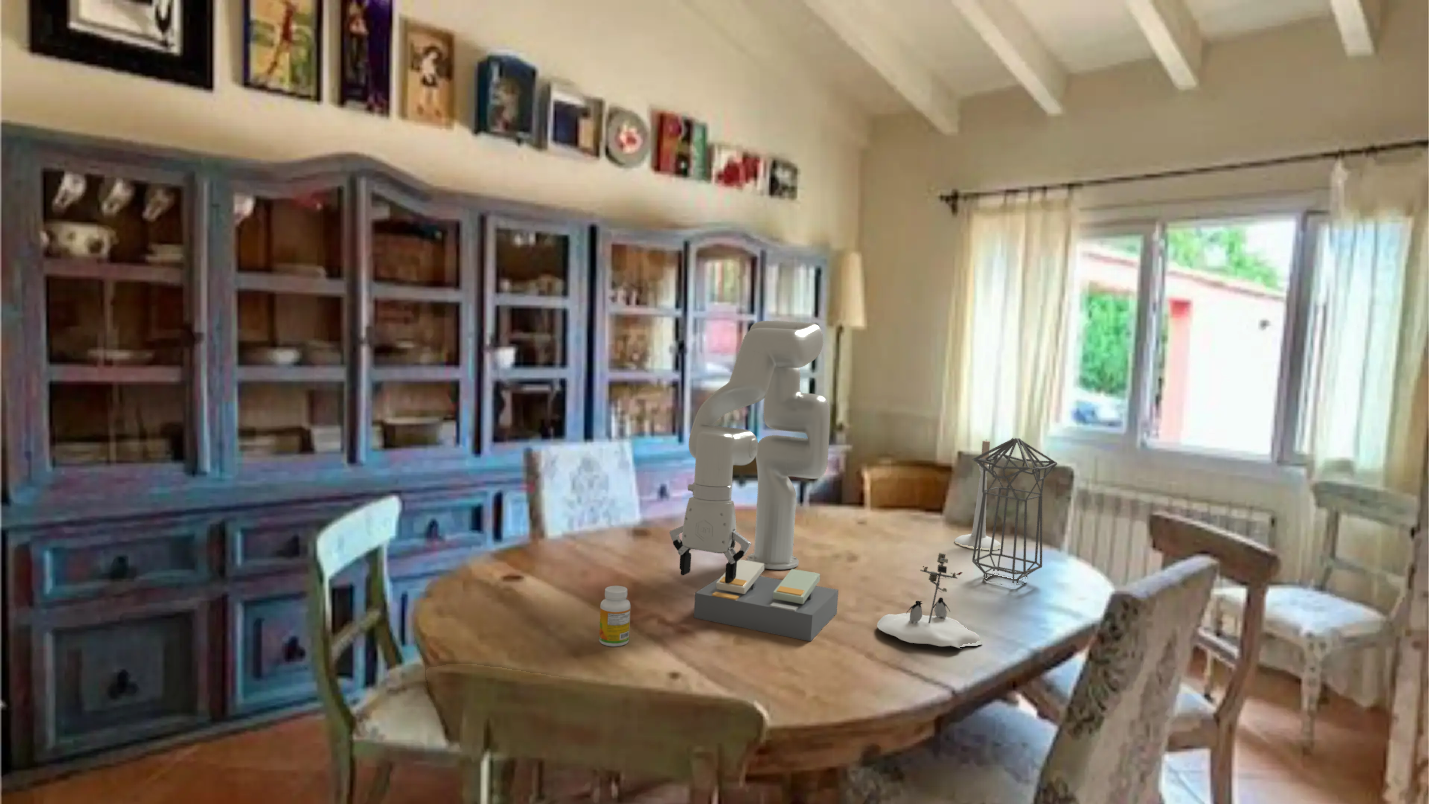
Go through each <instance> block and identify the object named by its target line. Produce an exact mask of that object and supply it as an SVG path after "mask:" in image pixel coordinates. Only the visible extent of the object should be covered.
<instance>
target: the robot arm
mask: <svg viewBox="0 0 1429 804" xmlns="http://www.w3.org/2000/svg"><path fill="white" fill-rule="evenodd" d="M823 334H824V333H823V331H822V329H821V327H820V326H819V325H818V324H816V323H813V322H801V321H799V322H798V321H784V320H762V321H757V322H755V323H753V324H751V326H750V329H749V331H747V332H746V333H745V335H744V337H743V339H742V343H741V346H740V347H739V350H738V354H737V357H736V359H735V363H734V366H733V369H732V372H731V375H730V378H729V381H728V382H727V383H725V384H724V385H723V386H721V387H720V388H719V389H718V390H716V391H715V392H714V393H712V394H711V395H710V396H709V397H708V398H707V399H706V400H704V401H703V403H702V404H701V405H700V406H699V407H698V408H699V409H698V411H697V412H696V415H695V418H694V421H693V424H692V427H691V430H690V434H689V437H688V450H689V454H690V455H691V456H692V457H693V458H694V459H695V465H694V481H693V482H692V484H691V483H689V484H688V485H687V490H688V491H689V492H691V493H692V496H691V497H689V498H688V501H687V504H686V509H685V513H684V519H683V525H681V526H679V527H676V528H674V529H672V530H669V535H670V538H671V540H672V544H673V546H674V548H675V549H676V550H677V553H678V555H679V570H680V576H685V575H687V574H689V573H691V566H692V565H691V564H692V553H691V552H690V551H691V550H695V551H701V552H709V553H714V554H723V555H724V556H725V558H726V559H727V561H728V562H727V563H725V572H724V573H725V582H726V583H728V584H729V583H730V582H732V581H733V580H734V579H735V578H736V570H737V561H739V560H740V559H741V560H742V558H743V557H744V556H746V554H747V552H748V551H749V550H750V548H751V546H752V543H751V541H750V540H748V539H747V538H746V537H744V536H743V535H742V534H740V533H739V532H738V531H737V521H736V520H737V519H736V509H735V508H736V507H735V502H734V500H732V490H733V489H732V488H733V472H734V469H733V468H734V466H746V465H749V464H750V463H752V462H753V461H754V459H755V461H756V470H757V471H756V472H757V497H756V498H757V499H756V513H755V516H756V517H755V529H754V530H755V532H754V546H753V547H754V549H753V551H754V552H753V553H750V554H748V555H747V561H752V562H758V563H764V570H765V569H766V570H767V569H768V570H779V571H782V570H791V569H795V568H796V567H798V566H799V562H800V561H799V559H798V558H797V557H796V556H794V554H793V553H794V546H795V544H794V539H795V537H794V536H795V524H796V523H795V521H796V507H797V505H796V504H797V503H796V502H797V492H796V488H795V486H794V484H793V482H792V481H791V479H790V477H794V478H795V477H796V478H801V479H802V478H804V479H812V480H813V479H815V480H816V479H820V478H822V477H823V476H824V475H825V473H826V472H827V467H828V461H829V447H830V446H829V445H830V443H829V441H830V426H831V424H830V422H831V421H830V420H831V411H830V410H831V409H830V405H829V402H828V400H827V399H826V397H824V396H823V395H821V394H817V393H805V392H804V393H803V392H801V371H800V370H801V369H800V368H803V367H805V366H806V365H808V364H810V363H812V362H813V361H814V360H816V359H817V358H818V356H819V355H820V354H821V352H822V349H823V345H824V335H823ZM762 400H763V419H764V424H765V426H766V427H767V428H769V429H772V430H775V431H781V432H782V431H783V432H791V433H792V432H793V433H800V434H805V435H806V436H807V437H806V438H805V437H799V436H798V437H795V436H789V435H788V436H787V435H777V434H776V435H775V434H773V435H767V436H764V437H762V438H760V440H759V441H758V439H757V436H756V435H755V434H754V433H753V432H752V431H750V430H748V429H745V428H737V427H729V426H721V425H720V426H719V425H715V424H716V423H717V422H718V421H719V419H721V418H722V417H723V416H725V415H726V414H729V413H731V412H734V411H735V410H739V409H741V408H745V407H748V406H751V405H754V404H757V403H759V402H761V401H762ZM680 534H681V537H680ZM736 543H738V544H739V545H740V549H739V550H738V551H736V550H735V547H736Z"/></svg>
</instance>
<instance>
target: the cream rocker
mask: <svg viewBox="0 0 1429 804" xmlns="http://www.w3.org/2000/svg"><path fill="white" fill-rule="evenodd" d="M764 571H765V568H764V563H758V562H752V561H747V560H745V559H742V558H741V559H740V560H739V561H737V570H736V578H735V579H734V580H733V581H732V582H730V583H729V584H728V583H726V582H725V572H724V573H723V575H721V576H722V577H721V576H720V577H721V578H720V577H719V578H720V579H719V580H718V581H717V582H716V587H717V589H720V590H725V591H731V592H736V593H741V594H745V593H746V592H747V590H748V589H749V588H750V587H751V586H752V584H753V583H754V582H755V581H756V579H757V578H758V577H759V576H761V574H762V573H763V572H764Z"/></svg>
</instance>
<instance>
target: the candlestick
mask: <svg viewBox="0 0 1429 804" xmlns="http://www.w3.org/2000/svg"><path fill="white" fill-rule="evenodd" d="M990 446H991V441H990V440H987V439H985V440H982V444H981V454H983V453H985V452H987V451H989V450H990V449H991V448H990ZM988 456H990V453H989V454H987V455H985V456H984V457H982V458H980V459H985V458H987V457H988ZM982 463H983V462H982ZM977 465H978V467H979V469H978V470H979V473H980V476H979V480H978V488H977V494H976V502H975V510H974V517H973V524H972V530H971V532H970V533H969V534H962V535H959V536H957V537H956V538H954V540H955V542H958V543H960V544H962V545H968V546H973V547H974V546H975V540H976V534H977V527H978V521H979V515H980V509H981V503H982V497H983V493H982V487H983V468H982V467H981V466H980V465H979V464H978V463H977ZM985 466H986V467H987V468H988V469H989V464H987V463H985ZM990 467H992V465H990ZM988 473H989V472H988V471H985V488H984V490H987V489H988V488H987V486H988V477H987V474H988ZM986 492H987V491H986ZM987 495H988V494H986V496H987ZM986 519H987V499H986V500H985V510H984V519H983V529H982V539H981V547H982V548H991V542H992V536H988V535H987V534H986V533H987V532H986V530H987V529H986V525H987V523H986V522H987V521H986ZM980 526H981V523H980ZM979 535H980V530H979ZM978 545H979V536H978V542H977V547H978ZM998 545H1001V542H1000V541H998V540H997V539H995V538H994V543H993V547H996V546H998Z"/></svg>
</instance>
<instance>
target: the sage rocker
mask: <svg viewBox="0 0 1429 804" xmlns="http://www.w3.org/2000/svg"><path fill="white" fill-rule="evenodd" d="M789 570H790V571H788V573H786V575H785V577H784V578H783V579H782V580H783V581H782V582H781V583H780V584H779V586H778V587H777V588H776V589H775V591H774V592H773V599H778V600H784V601H789V602H794V603H800V604H803V603H804V602H805V601H806V599H807V598H808V596H809V595H810V594H811V592H812V591H813V589H814V588H815V586H818V583H819V582H820V581H821V573H818V572H812V571H807V570H802V569H795V568H791V569H789Z"/></svg>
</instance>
